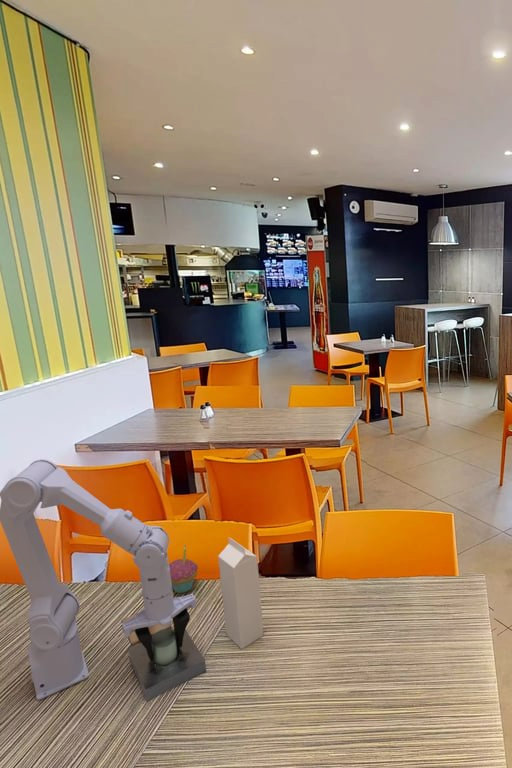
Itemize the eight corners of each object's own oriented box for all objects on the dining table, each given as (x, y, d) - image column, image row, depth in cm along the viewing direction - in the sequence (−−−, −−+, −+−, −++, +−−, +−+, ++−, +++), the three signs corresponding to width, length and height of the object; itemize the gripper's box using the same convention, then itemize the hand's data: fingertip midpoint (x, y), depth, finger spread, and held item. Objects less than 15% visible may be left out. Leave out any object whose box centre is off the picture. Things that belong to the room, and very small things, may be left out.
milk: (241, 649, 93) (232, 554, 89) (225, 634, 98) (215, 542, 94) (264, 635, 97) (256, 542, 93) (248, 620, 102) (239, 531, 97)
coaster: (132, 645, 97) (131, 643, 97) (121, 621, 104) (121, 619, 104) (171, 628, 101) (171, 625, 101) (158, 606, 109) (158, 604, 109)
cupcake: (202, 577, 119) (197, 535, 117) (194, 598, 111) (190, 554, 109) (171, 577, 120) (166, 536, 118) (161, 598, 112) (155, 554, 110)
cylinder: (159, 678, 88) (155, 649, 87) (152, 663, 92) (148, 635, 90) (181, 667, 90) (178, 639, 89) (173, 652, 94) (170, 625, 93)
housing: (147, 701, 83) (145, 689, 82) (129, 659, 93) (128, 649, 93) (206, 670, 89) (205, 659, 88) (183, 634, 99) (182, 624, 98)
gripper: (125, 617, 81) (135, 681, 83) (199, 586, 88) (206, 647, 90) (116, 596, 87) (125, 657, 89) (186, 569, 94) (192, 626, 96)
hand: (165, 650), depth 90 cm, fingers open, 5 cm apart
